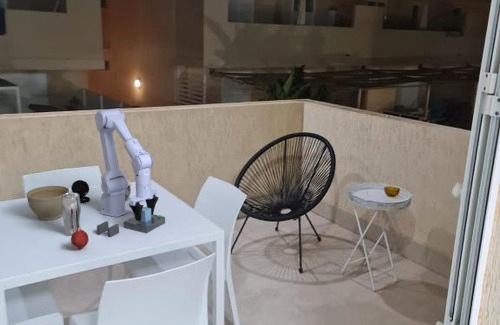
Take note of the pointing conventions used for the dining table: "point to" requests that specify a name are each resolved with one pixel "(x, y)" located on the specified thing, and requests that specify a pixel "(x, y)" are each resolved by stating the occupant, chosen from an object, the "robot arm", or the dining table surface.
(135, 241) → the dining table surface
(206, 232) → the dining table surface
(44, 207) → the planter bowl
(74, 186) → the webcam
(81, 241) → the red christmas ornament
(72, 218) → the beer glass
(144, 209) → the plug
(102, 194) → the robot arm
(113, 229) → the holster
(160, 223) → the port block
